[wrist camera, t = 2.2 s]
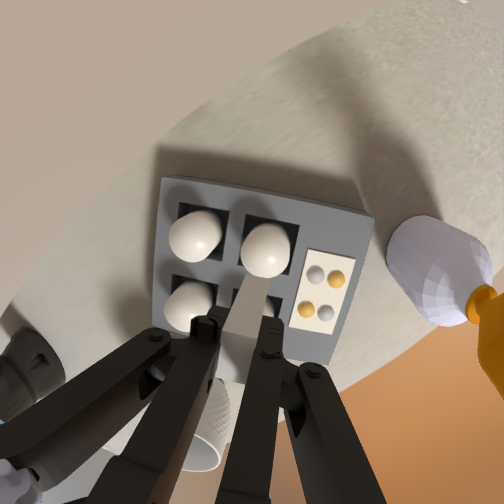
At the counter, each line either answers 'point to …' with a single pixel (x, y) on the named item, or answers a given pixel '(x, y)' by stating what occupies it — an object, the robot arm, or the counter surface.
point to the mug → (210, 432)
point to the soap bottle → (451, 283)
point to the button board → (286, 283)
